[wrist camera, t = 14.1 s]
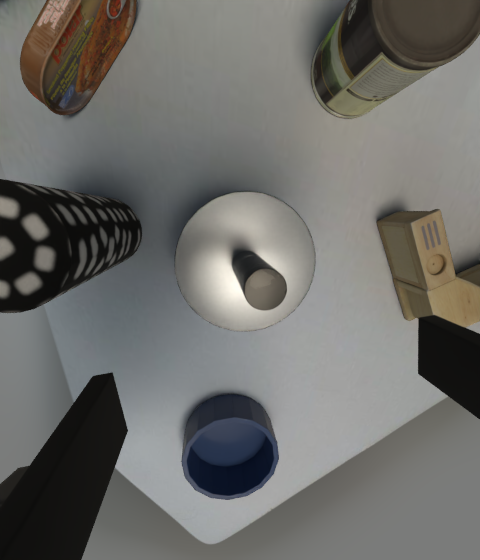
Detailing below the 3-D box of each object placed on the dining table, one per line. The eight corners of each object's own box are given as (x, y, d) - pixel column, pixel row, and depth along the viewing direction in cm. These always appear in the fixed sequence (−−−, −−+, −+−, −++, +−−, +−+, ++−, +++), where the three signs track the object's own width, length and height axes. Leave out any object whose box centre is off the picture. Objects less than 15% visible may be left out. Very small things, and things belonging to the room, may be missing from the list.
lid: (188, 337, 32) (178, 400, 21) (163, 201, 28) (136, 193, 18) (316, 316, 33) (369, 366, 22) (306, 183, 29) (363, 165, 19)
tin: (74, 126, 34) (32, 98, 26) (49, 107, 34) (-2, 73, 25) (145, 11, 33) (124, -57, 24) (121, -10, 32) (90, -88, 24)
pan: (193, 474, 47) (191, 507, 41) (178, 402, 44) (174, 428, 38) (274, 458, 48) (282, 488, 42) (265, 387, 45) (273, 410, 39)
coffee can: (293, 76, 36) (345, -10, 22) (351, 5, 35) (444, -132, 21) (349, 138, 38) (428, 94, 24) (405, 72, 37) (520, -11, 23)
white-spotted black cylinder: (116, 185, 36) (10, 150, 17) (154, 242, 38) (99, 270, 19) (60, 219, 36) (-110, 224, 17) (101, 274, 38) (-10, 336, 19)
